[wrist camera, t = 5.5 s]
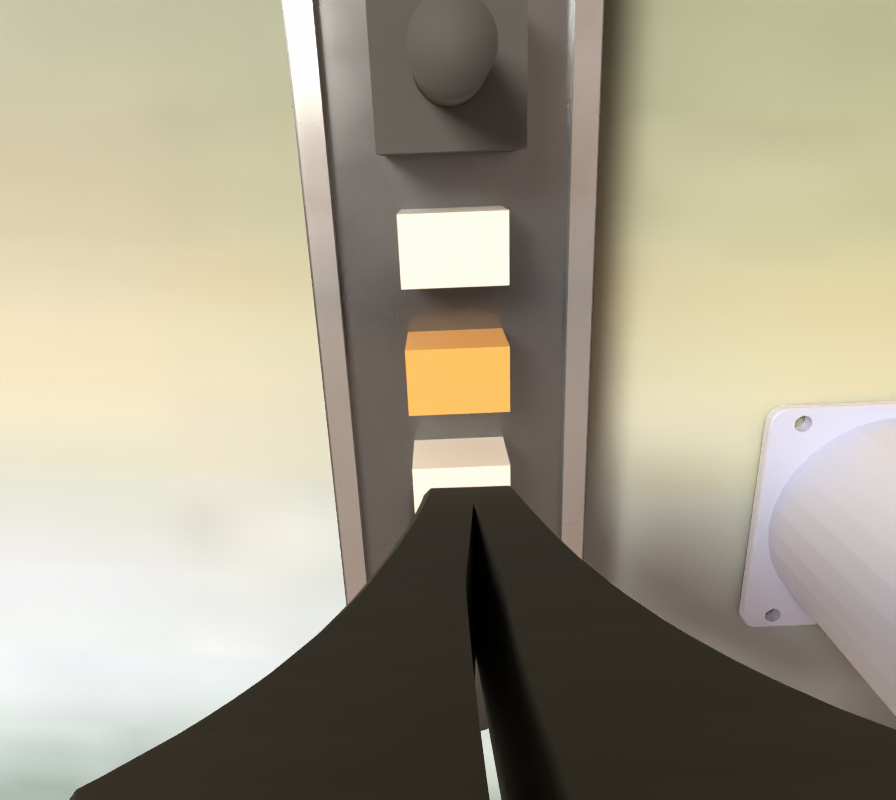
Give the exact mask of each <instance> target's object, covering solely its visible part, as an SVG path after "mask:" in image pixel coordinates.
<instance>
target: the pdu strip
mask: <svg viewBox="0 0 896 800" xmlns="http://www.w3.org/2000/svg"><path fill="white" fill-rule="evenodd" d="M604 6H605V0H528V79H527V149H522V150H518V151H513V152H487V153H461V154H435V155H410V156H381V155H377V154H376V148H375V133H374V119H373V105H372V90H371V76H370V61H369V47H368V32H367V18H366V4H365V0H282V7H283V17H284V26H285V35H286V45H287V54H288V63H289V73H290V82H291V91H292V101H293V110H294V119H295V129H296V138H297V147H298V157H299V166H300V175H301V185H302V194H303V203H304V213H305V222H306V231H307V241H308V250H309V259H310V269H311V278H312V287H313V297H314V306H315V315H316V325H317V334H318V343H319V353H320V362H321V371H322V381H323V390H324V399H325V409H326V418H327V427H328V437H329V446H330V455H331V465H332V474H333V483H334V493H335V502H336V511H337V521H338V530H339V539H340V549H341V558H342V567H343V577H344V586H345V595H346V605H348V604H349V603H350V601H351V600H352V599H353V598H354V597H355V596H356V595H357V594H358V593H359V591H360V590H361V589H362V588H363V587H364V585H365V584H366V583H367V582H368V581H369V579H370V578H371V577H372V576H373V574H374V573H375V572H376V571H377V569H378V568H379V567H380V566H381V564H382V563H383V562H384V561H385V559H386V558H387V557H388V555H389V554H390V552H391V551H392V549H393V548H394V546H395V545H396V543H397V542H398V540H399V539H400V538H401V536H402V535H403V533H404V532H405V530H406V529H407V527H408V525H409V523H410V522H411V520H412V518H413V517H414V515H415V507H414V491H413V475H412V465H413V452H414V440H435V439H459V438H483V437H503V438H504V442H505V446H506V450H507V454H508V458H509V462H510V487H511V488H512V489H513V490H515V491H516V492H517V494H518V495H519V496H520V497H521V498H522V499H523V500H524V502H525V503H526V504H527V505H528V506H529V507H530V508H531V509H532V511H533V512H534V513H535V514H536V515H537V516H538V517H539V518H540V519H541V520H542V521H543V522H544V523H545V525H546V526H547V527H548V528H549V529H550V530H551V531H552V532H553V533H554V534H555V535H556V536H557V537H558V538H559V539H560V540H562V541H563V542H564V543H565V544H566V545H567V546H568V547H569V548H570V549H571V550H572V551H573V552H574V553H575V554H576V555H577V556H578V557H579V558H581V559H582V560H583V546H584V520H585V494H586V469H587V443H588V417H589V392H590V366H591V340H592V314H593V289H594V263H595V237H596V212H597V186H598V160H599V135H600V109H601V83H602V58H603V32H604ZM478 206H503V207H504V208H506V209H508V210H509V285H502V286H477V287H452V288H427V289H402V290H401V278H400V262H399V245H398V229H397V213H398V212H399V211H400V210H402V209H427V208H453V207H478ZM495 328H502V329H503V332H504V334H505V336H506V339H507V341H508V343H509V346H510V412H493V413H469V414H445V415H420V416H409V409H408V393H407V376H406V360H405V347H406V341H407V335H408V332H420V331H445V330H470V329H495Z"/></svg>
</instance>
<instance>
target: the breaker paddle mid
mask: <svg viewBox="0 0 896 800" xmlns="http://www.w3.org/2000/svg"><path fill="white" fill-rule="evenodd" d="M405 360H406V376H407V393H408V409H409V416H420V415H445V414H469V413H493V412H510V346H509V343H508V341H507V339H506V336H505V334H504V332H503V329H502V328H495V329H470V330H445V331H420V332H408V335H407V341H406V347H405Z"/></svg>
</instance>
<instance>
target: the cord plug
mask: <svg viewBox="0 0 896 800" xmlns="http://www.w3.org/2000/svg"><path fill="white" fill-rule="evenodd" d="M365 4H366V18H367V32H368V47H369V61H370V76H371V90H372V105H373V119H374V133H375V148H376V154H377V155H381V156H410V155H435V154H461V153H487V152H513V151H518V150H522V149H527V79H528V0H365Z"/></svg>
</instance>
